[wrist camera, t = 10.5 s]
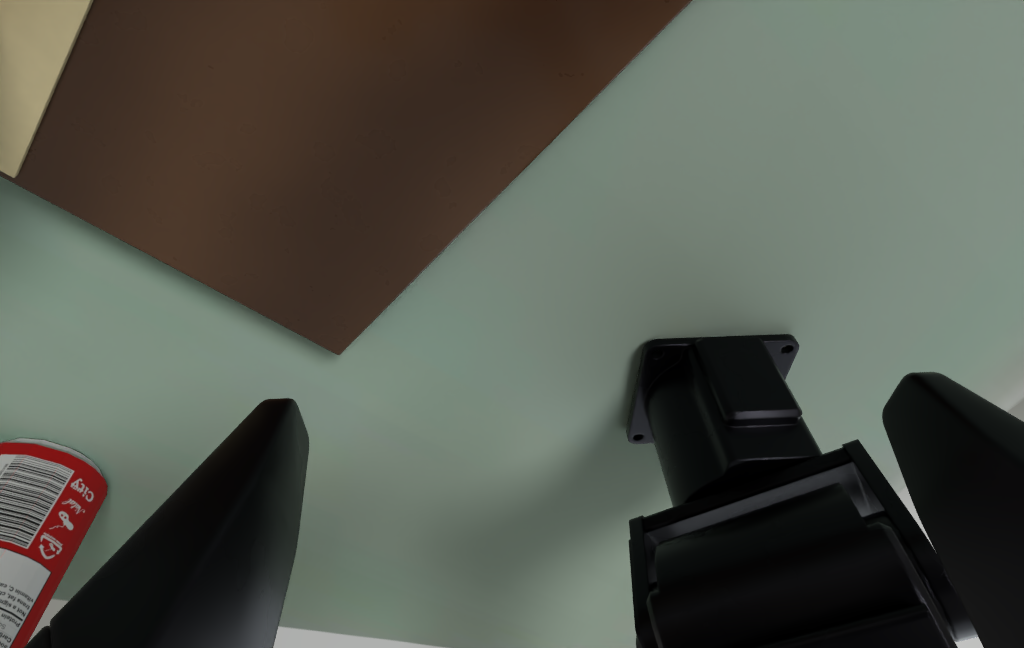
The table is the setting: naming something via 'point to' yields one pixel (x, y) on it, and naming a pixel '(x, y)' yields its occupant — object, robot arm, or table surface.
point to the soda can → (40, 527)
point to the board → (298, 129)
